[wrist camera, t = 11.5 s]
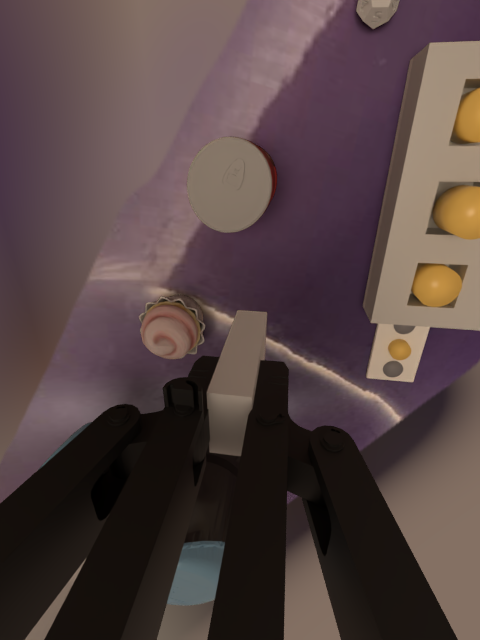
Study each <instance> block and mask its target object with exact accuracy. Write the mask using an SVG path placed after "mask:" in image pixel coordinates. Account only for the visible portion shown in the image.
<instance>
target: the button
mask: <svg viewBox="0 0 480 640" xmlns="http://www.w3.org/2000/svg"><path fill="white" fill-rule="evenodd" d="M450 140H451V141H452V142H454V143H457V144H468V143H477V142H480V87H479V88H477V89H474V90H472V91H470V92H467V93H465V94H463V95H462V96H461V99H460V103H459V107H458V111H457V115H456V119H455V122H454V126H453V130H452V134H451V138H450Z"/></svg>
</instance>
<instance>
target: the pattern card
mask: <svg viewBox="0 0 480 640" xmlns="http://www.w3.org/2000/svg"><path fill="white" fill-rule="evenodd" d="M429 328H430V327H423V326H409V325H394V324H380V323H377V327H376V331H375V336H374V340H373V345H372V349H371V354H370V358H369V363H368V367H367V372H366V378H372V379H383V380H394V381H405V382H413V381H414V377H415V374H416V371H417V368H418V364H419V361H420V358H421V355H422V351H423V348H424V345H425V341H426V338H427V335H428V332H429Z"/></svg>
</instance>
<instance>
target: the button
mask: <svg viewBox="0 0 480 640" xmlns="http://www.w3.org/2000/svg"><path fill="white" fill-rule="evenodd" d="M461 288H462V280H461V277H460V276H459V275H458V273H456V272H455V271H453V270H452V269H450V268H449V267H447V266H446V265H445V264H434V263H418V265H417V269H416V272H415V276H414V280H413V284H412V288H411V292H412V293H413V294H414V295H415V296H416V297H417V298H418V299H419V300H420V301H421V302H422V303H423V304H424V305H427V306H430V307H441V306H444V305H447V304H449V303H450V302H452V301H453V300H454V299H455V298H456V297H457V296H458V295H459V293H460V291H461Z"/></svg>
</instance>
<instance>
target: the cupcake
mask: <svg viewBox="0 0 480 640" xmlns="http://www.w3.org/2000/svg"><path fill="white" fill-rule="evenodd" d="M139 320H140V321H141V323H142V327H141V329H140V333H141V336H142V341H143V343H144V345H145V346H146V347H147V348H148V349H149V350H150V351H151V352H152V353H154V354H156V355H158V356H160V357H163V358H167V359H178V358H180V359H181V358H183V357H184V356H185V355H186V354H196V352H197V346H198V345H200V344H202V343H203V342H204V336H203V333H202V332H203V330H204V329H205V324H204V323H203V313H202V310H201V308H200V306H199V305H198V304H197V303H196V302H195V301H194V300H193V299H191V298H189V297H187V296H184V295H174V296H170V297H163V296H161V297H160V298H159V299H158V301H157V302H148V303H146V305H145V312H144V313H142V314H141V315H140V316H139Z"/></svg>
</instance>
